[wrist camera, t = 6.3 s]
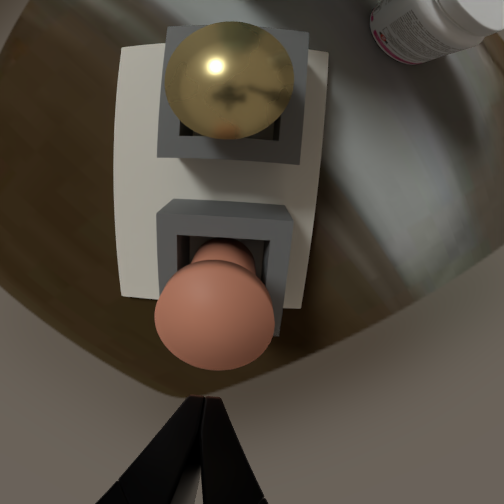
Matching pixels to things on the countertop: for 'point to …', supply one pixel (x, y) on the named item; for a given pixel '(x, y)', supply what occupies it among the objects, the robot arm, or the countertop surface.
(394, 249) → the countertop surface
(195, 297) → the pink plunger
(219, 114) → the brass plunger
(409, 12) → the pill bottle
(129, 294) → the board
